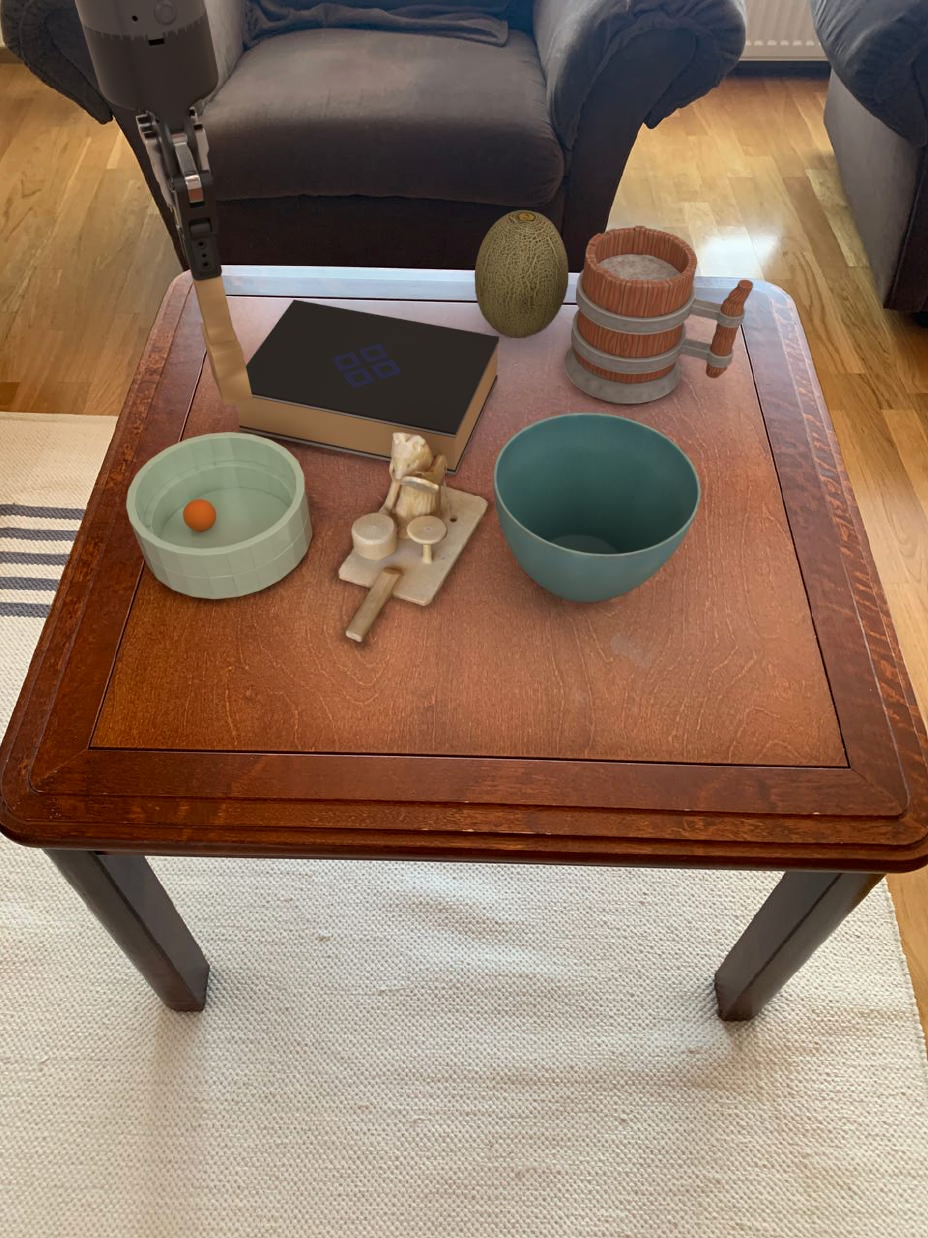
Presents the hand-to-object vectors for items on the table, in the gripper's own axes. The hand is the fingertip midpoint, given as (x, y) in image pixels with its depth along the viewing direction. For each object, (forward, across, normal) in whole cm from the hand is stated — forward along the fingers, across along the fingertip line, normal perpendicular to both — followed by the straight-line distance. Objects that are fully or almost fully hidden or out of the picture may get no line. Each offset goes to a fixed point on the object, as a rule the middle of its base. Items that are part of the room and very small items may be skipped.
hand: (203, 266), depth 69 cm
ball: (+27, -3, -6) cm, 28 cm away
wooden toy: (+30, +8, +12) cm, 33 cm away
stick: (+11, 0, 0) cm, 11 cm away
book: (+30, -15, +16) cm, 38 cm away
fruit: (+30, -24, +38) cm, 54 cm away
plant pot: (+30, +16, +28) cm, 44 cm away
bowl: (+30, -1, -4) cm, 30 cm away
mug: (+30, -10, +48) cm, 58 cm away
